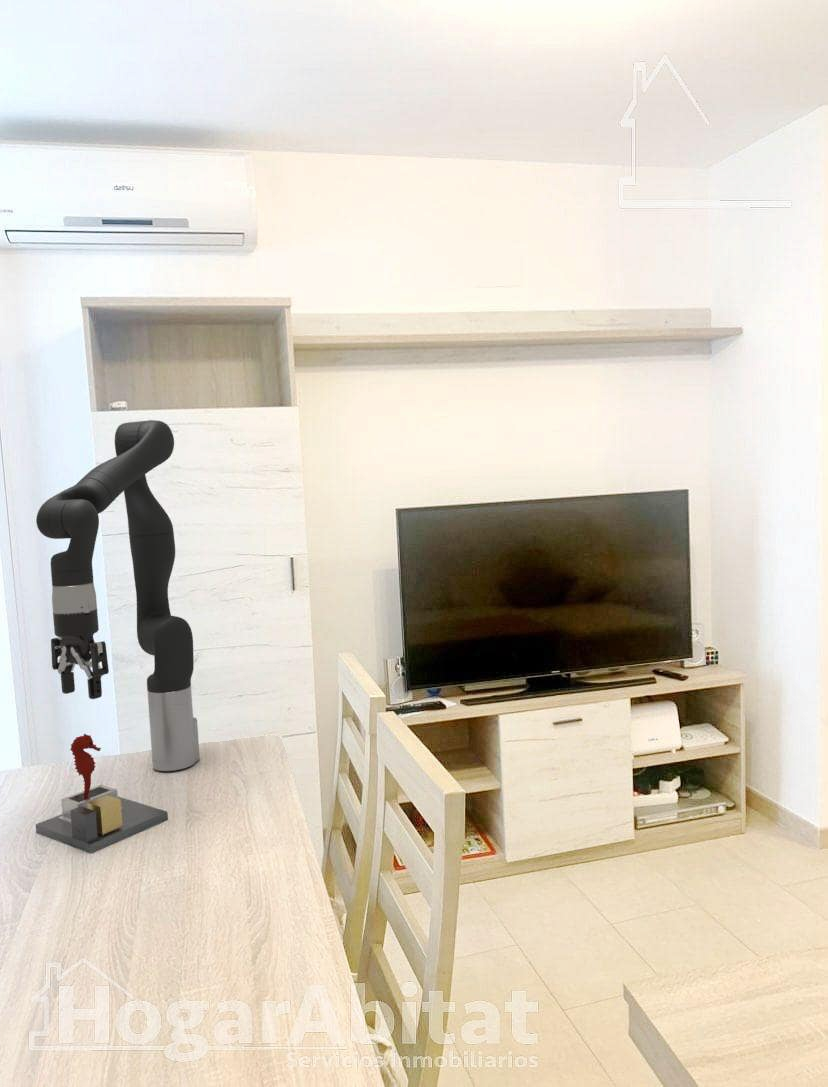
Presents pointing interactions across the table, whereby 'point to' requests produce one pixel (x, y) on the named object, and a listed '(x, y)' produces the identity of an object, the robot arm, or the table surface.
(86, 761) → the toy
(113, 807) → the slider
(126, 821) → the press frame
